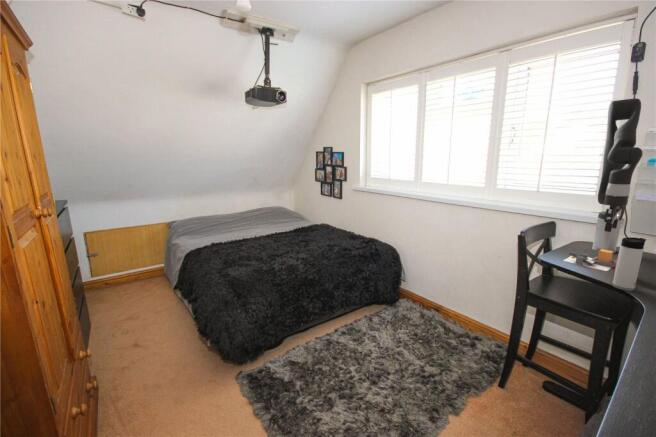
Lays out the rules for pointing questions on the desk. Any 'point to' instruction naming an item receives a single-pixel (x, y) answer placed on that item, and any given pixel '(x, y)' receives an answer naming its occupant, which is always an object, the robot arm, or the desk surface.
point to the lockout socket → (613, 262)
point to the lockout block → (605, 256)
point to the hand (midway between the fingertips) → (610, 229)
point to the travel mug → (628, 263)
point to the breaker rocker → (583, 259)
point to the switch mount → (580, 259)
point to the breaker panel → (573, 260)
